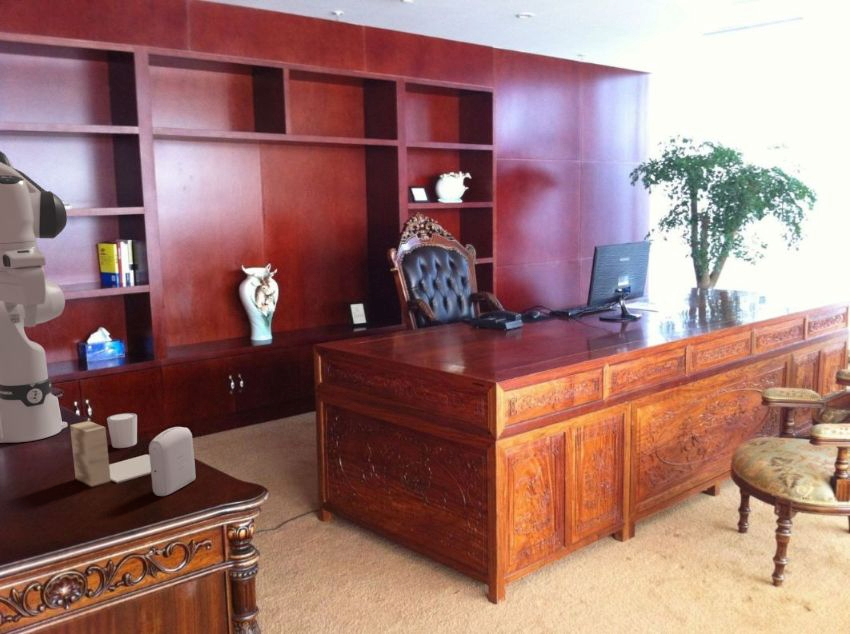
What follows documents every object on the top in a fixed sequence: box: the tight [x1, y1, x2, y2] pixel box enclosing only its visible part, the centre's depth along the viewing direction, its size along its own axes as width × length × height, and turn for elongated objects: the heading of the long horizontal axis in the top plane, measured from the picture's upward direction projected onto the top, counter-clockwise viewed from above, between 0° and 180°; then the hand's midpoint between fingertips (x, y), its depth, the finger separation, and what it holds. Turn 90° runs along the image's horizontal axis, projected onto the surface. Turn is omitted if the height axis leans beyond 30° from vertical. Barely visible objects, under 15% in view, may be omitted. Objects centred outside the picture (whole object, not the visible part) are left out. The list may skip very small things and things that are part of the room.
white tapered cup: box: [106, 412, 138, 449], centre depth 196 cm, size 7×7×7 cm
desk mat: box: [109, 454, 151, 484], centre depth 178 cm, size 12×13×1 cm
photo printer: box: [148, 426, 197, 497], centre depth 165 cm, size 10×4×12 cm, turn 158°
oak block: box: [69, 420, 112, 488], centre depth 171 cm, size 8×4×12 cm, turn 47°
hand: (22, 324), depth 164 cm, fingers open, 8 cm apart
